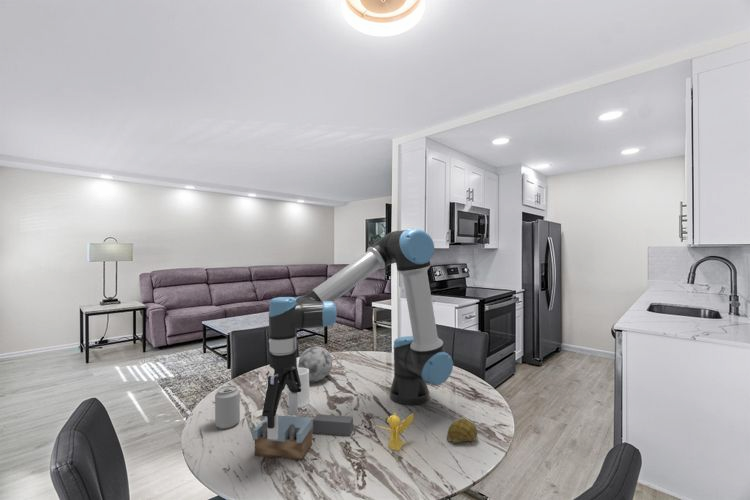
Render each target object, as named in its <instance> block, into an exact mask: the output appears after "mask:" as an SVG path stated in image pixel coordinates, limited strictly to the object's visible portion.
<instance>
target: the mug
mask: <svg viewBox="0 0 750 500" xmlns="http://www.w3.org/2000/svg"><path fill="white" fill-rule="evenodd" d="M297 370H298V374H299V378H300V382H301V387H300V388H301V392H297V393H298V409H299V408H303V407H307V406H308V405H309V404H310V402H311V399H310V381H309V369H307V368H298V367H297ZM286 392H287V393H286V397H287V399H286V400H287V401H286V405H287V406H288V407H289V393H290V390H289V388H288V387H287V386H286ZM291 393H292V392H291Z"/></svg>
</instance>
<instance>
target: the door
mask: <svg viewBox="0 0 750 500" xmlns="http://www.w3.org/2000/svg"><path fill="white" fill-rule="evenodd" d="M313 419H314V418H313V417H307V416H306V417H305V416H295V415H279V414H278V439H277V440H275V439H269V440H270V441H282V442H285V440H286V439H287V438H288V437H289V436H290V425H291V424H294V425H295V436H297V443H301V442H302V441H303V440H304V438H305V437H306V435H307V434H308V432H309V431H310V429H311V428H312V429H313ZM264 422H267V417H266V416H265V417H264V418H263V420H262V421H261V422H259V424H258V425H257V426H255V428H253V430H252V439H253V440H255V439H258V438H259V437H260V436H261V435H262V434H263V426H262V424H263V423H264Z"/></svg>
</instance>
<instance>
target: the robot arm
mask: <svg viewBox="0 0 750 500" xmlns="http://www.w3.org/2000/svg"><path fill="white" fill-rule="evenodd" d="M434 254H435V243H434V241H433V238H432V237H431V235H430V234H428V232H426V231H425V230H422V229H418V228H416V229H415V228H409V229H405V230H394V231H392V232H389V233H387V234H385V235H384V236H382V237H381V238H380V239H379V240H377V241H375V242H374V243H373V244H372V245H370V246H368V248H367V250H366V252H365V253H363V254H362V255H360V256H359V257H357V258H356V259H354V260H353V261H352V262H350V263H349V264H347V265H346V266H345V267H343V268H342V269H340V270H339V271H337V272H336V273H335V274H334V275H332V276H331V277H329V278H327V279H326V280H324V281H323V282H321V283H320V284H318V286H316V287H315V288H313V289H312V290H310V291H309V292H307V293H306V294H304V295H300V296H297V297H296V298H295V297H293V296H278V297H273V298H272V299H270V301H269V307H268V309H269V310H268V331H269V333H268V334H269V335H268V336H269V337H268V338H269V339H268V343H269V346H268V347H269V352H270V353H269V356H268V357H269V358H268V359H269V367H270V368H272V369H273V370H274V371H273V375H269V376H268V377H267V386H266V393H265V398H264V403H263V407H262V413H261V416H262V417H265V418H266V417H267V439H275V440H277V439H278V415H279V413H277V412H278V407H279V404H280V400H281V397H282V393H283V391H284V390H285V387H286V388H287V387H288V388H289V390H290V393H289V406H288V416H299V408H298V393H297V392H301V388H300V387H301V382H300V378H299V374H298V370H297V368H298V365H297V351H296V350H297V331H298V330H303V329H314V328H326V327H329V326H333V325H335V323H336V321H337V317H338V316H337V315H338V313H337V307H336V305H335V303H334V302H335V301H336V300H338V299H339V298H341V297H343V295H345V294H346V293H347V292H349V291H350V290H351V289H353V288H354V287H355V286H357V285H358V284H360V283H362V282H363V281H365V279H367V278H368V277H370V276H371V275H372V274H374V273H375V272H377V271H378V270H379V269H380V270H383V269H385V268H387V267H388V266H390V265H393V264H395V265H396V270H397V272H398V273H399V274H401V275H402V280H403V286H404V292H405V297H406V302H407V309H408V315H409V316H408V317H409V320H410V325H411V326H410V328H411V333H412V335H409V336H408V335H406V336H405V335H404V336H400V337H399V336H398V337H397V338H395V339H394V341H393V373H394V374H393V375H394V376H393V379H392V382H391V385H390V389H389V397H390V399H391V400H392V401H393V402H395V403H398V404H400V405H407V406H408V405H409V406H410V405H411V406H412V405H420V404H421V405H422V404H423V403H426V402H427V401H428V400H429V399H430V391H429V387H428V384H429V385H431V386H439V385H442V384H444V383H446V382H447V380H448V379H449V377H450V376H451V374H452V372H453V368H454V362H453V359H452V356H451V355H449V353H448V352H446V351H445V347H444V340H442V339H441V338H439V337H438V331H437V325H436V318H435V311H434V306H433V300H432V294H431V288H430V281H429V275H428V270H429V269H430V267H431V260H432V258H433V255H434ZM291 392H292V393H291Z"/></svg>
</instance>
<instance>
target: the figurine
mask: <svg viewBox="0 0 750 500" xmlns="http://www.w3.org/2000/svg"><path fill="white" fill-rule="evenodd" d="M414 415H415V413H410V415H408V416H407V417H406V418H405V419H403V420H402V421H401V418H400V417H399V416H398V415H397V413H396V412H394V413H393V414H392V415H390V416H389V417H388V418H387V421H386V423H388V424H389V426H390V428H389V427H385V426H380V425H376V424H374V426H376V427H378V428H381V429H384V430H387V431H389V432H390V433H389V441H388V447H389V449H390V450H393V451H400V450H401V449H402V447H403V446H404V442H403V440H402V438H401V436H400V434H401V435H402V434H403V433H404V432H405V431H408V429H409V428H410V426H411V425H412V422H414V418H415V416H414Z"/></svg>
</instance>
